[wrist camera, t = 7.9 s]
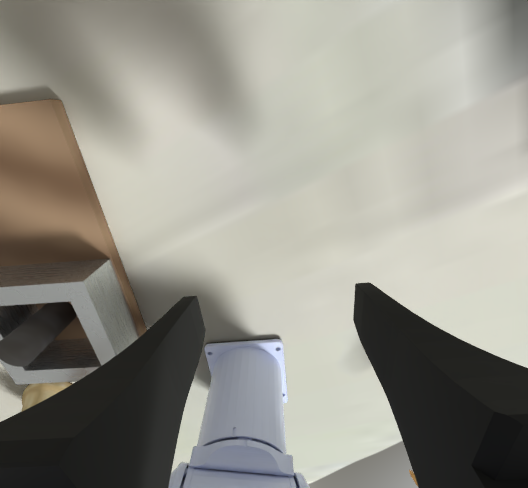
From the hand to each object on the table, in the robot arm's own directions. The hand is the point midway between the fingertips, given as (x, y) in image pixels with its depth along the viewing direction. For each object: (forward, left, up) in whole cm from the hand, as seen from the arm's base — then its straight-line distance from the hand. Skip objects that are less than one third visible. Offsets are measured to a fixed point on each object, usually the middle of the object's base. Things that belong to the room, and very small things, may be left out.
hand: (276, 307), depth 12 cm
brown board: (0, +20, -10) cm, 23 cm away
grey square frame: (-6, +19, -9) cm, 22 cm away
